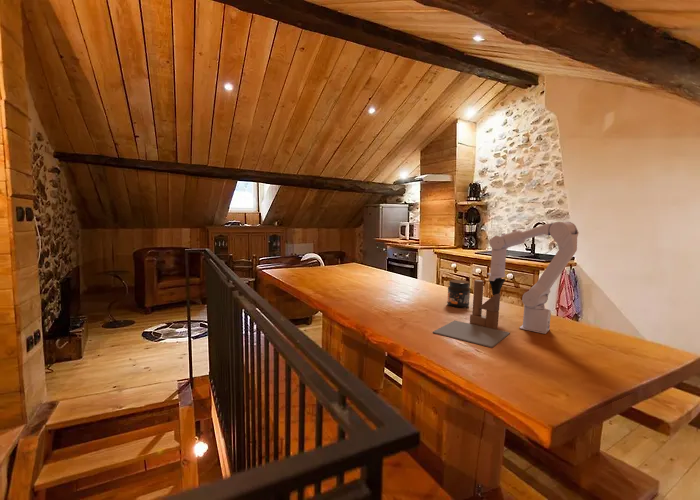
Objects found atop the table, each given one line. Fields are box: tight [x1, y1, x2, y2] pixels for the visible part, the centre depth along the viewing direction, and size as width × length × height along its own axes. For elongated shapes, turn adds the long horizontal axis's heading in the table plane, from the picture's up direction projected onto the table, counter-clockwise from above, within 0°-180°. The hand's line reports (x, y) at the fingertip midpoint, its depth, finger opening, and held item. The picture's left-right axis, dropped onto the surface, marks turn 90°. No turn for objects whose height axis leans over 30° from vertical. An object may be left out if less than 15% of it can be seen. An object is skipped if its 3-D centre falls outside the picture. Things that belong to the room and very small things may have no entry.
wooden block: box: [469, 279, 501, 330], centre depth 149 cm, size 4×11×18 cm, turn 37°
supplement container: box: [446, 279, 471, 309], centre depth 181 cm, size 10×10×12 cm
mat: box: [432, 320, 511, 349], centre depth 139 cm, size 22×20×1 cm
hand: (495, 295), depth 158 cm, fingers closed
